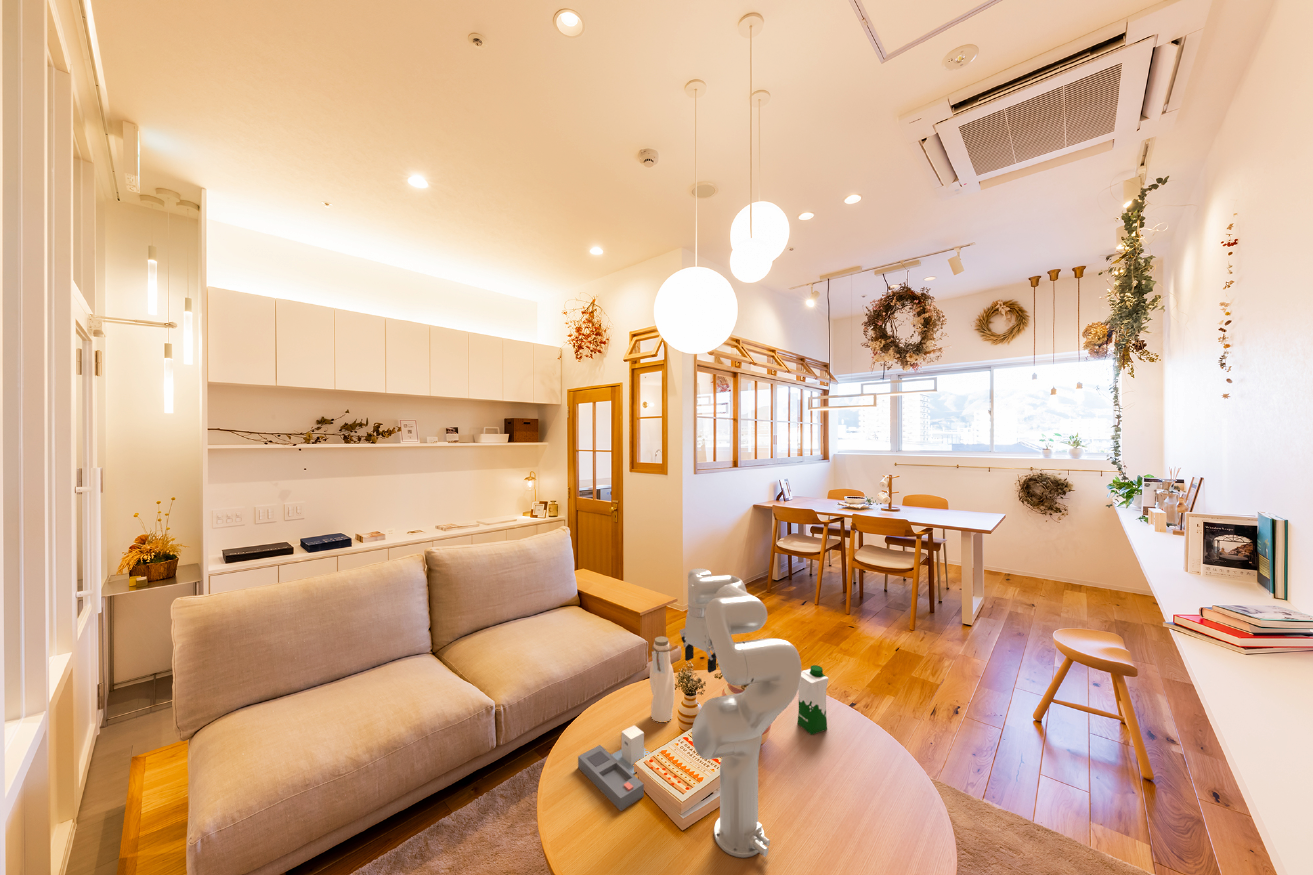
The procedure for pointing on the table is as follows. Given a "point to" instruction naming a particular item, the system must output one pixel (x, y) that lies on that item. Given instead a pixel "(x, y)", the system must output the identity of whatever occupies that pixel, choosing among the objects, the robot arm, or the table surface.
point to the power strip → (611, 777)
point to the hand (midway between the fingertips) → (700, 665)
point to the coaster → (619, 757)
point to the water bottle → (662, 681)
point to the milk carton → (813, 700)
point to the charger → (632, 744)
